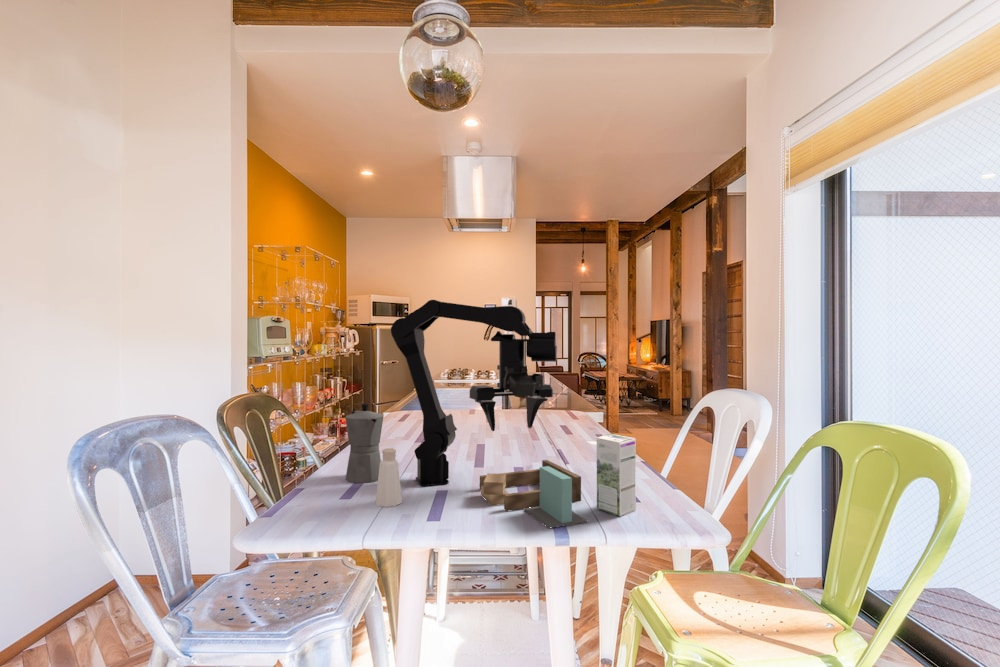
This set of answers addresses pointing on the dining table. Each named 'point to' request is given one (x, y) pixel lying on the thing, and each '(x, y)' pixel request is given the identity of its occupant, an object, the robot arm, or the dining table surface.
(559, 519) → the teal rectangular block
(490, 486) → the offcut upper
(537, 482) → the rack
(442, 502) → the dining table surface
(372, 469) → the coffeepot
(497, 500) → the offcut lower
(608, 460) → the syrup box
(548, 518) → the mat
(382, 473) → the pepper shaker
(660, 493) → the dining table surface
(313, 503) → the dining table surface
